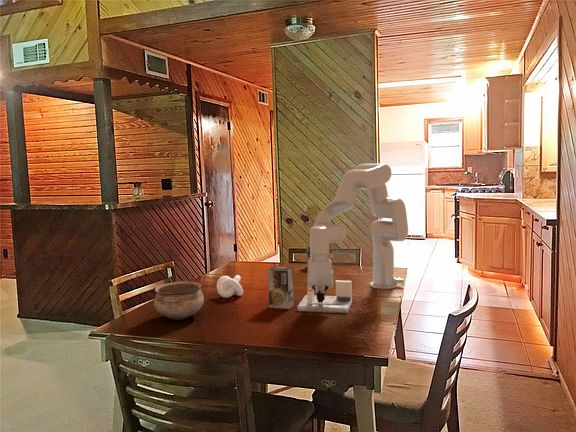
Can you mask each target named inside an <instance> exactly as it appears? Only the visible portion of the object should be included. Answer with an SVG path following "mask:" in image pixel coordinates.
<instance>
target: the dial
mask: <svg viewBox="0 0 576 432" xmlns="http://www.w3.org/2000/svg"><path fill="white" fill-rule="evenodd" d="M352 289H353V286H352V280H338V279H336V280H335V296H336V297H337V299H339V300H349V299H351V297H352V298H353V290H352Z"/></svg>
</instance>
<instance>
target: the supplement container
mask: <svg viewBox="0 0 576 432" xmlns="http://www.w3.org/2000/svg"><path fill="white" fill-rule="evenodd" d="M305 253H306V256H305V257H306V258H305V259H306V268H308V263H309V260H310V245H307V246H306V252H305Z"/></svg>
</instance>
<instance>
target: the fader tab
mask: <svg viewBox="0 0 576 432" xmlns="http://www.w3.org/2000/svg"><path fill="white" fill-rule="evenodd" d="M306 293H307V294H306V295H307V303H308V304H313V302H314V295H315V290H314V289H313V288H309V287H307V289H306Z"/></svg>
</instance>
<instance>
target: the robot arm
mask: <svg viewBox="0 0 576 432" xmlns="http://www.w3.org/2000/svg"><path fill="white" fill-rule="evenodd" d="M391 177H392V169H391V166H389V165H388V164H387V163H361V164H360V163H359V164H358V165H356V166H355V167H354V169H351V170H347V171H346V172H344V175H343V177H342V179H341V181H340V184H339V187H338V189H337V192H336V194H335V196H334V198H333V200H331V201H330V202H329V203H328V204H327V205H326V206H324V207H323V208H322V209H321V210H320V212H319V213H318V214H317V216H316V219H315V221H314V224H313V226H311V228H309V246H310V260H309V263H308V267H307V274H306V275H307V276H306V277H307V278H306V280H307V286H306V287H307V288H313V289H314V292H315V293H316V295H317V300H318V303H320V302H321V303H322V302H323V300H325V296H326V292H327V290H330V289H333V288H334V286H335V284H334V269H333V264H332V263H333V262H332V259H333V257H334V255H333V254H331V253H330V244H339V243H341V242H343V241H344V240H345V239H346V236H347V231H346V229H345V227H344V226H343V225H340V224H336V223H330V222H331V220H333V218H335V217H336V216H338V215H340V214H342V213H345V212H347V211H349V210H351V209H353V207H354V205H355V203H356V200H357V198H358V195H359V193H360V191H361V190H362V191H363V190H366V191H367V194H368V200H369V206H370V212H371V215H372V216H373V217H375V218H378V219H376V220H373V221H372V222H371V225H370V235H371V240H372V241H371V242H372V275H373V277H372V281H371V282H370V283H369V286H370V287H371V288H374V289H379V290H388V289H389V290H391V289H394V288H397V287H398V284H404V278H400V277H398V278H397V277H395V273H394V272H395V269H394V267H395V265H394V264H395V263H394V262H395V259H394V256H395V255H394V254H395V253H394V251H395V250H394V245H393V243H392V242H404V241H405V240H407V238H408V235H409V225H408V224H409V223H408V215H407V210H406V209H407V208H406V205H405V202H404V200H402V199H401V198H399V197H390V196H389V195H388V188H387V183H388V182H389V181H390V180H391ZM320 287H321V289H320Z"/></svg>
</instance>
